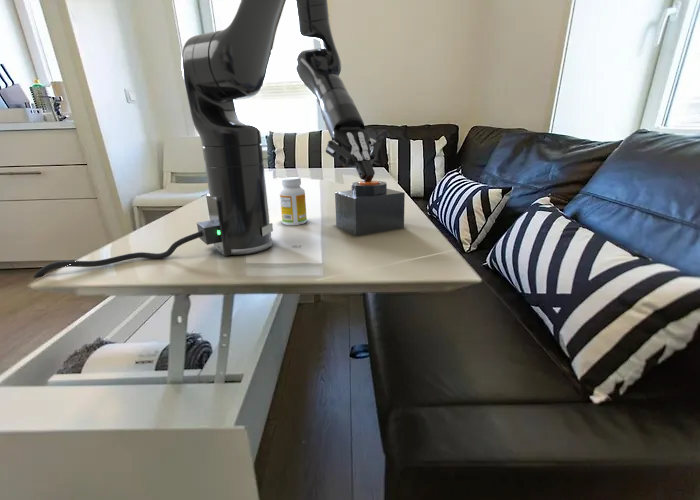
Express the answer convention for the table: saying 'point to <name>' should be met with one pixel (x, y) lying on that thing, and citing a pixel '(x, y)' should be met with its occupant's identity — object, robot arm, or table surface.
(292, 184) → the supplement bottle
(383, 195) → the push button base
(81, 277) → the table surface
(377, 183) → the orange push button
